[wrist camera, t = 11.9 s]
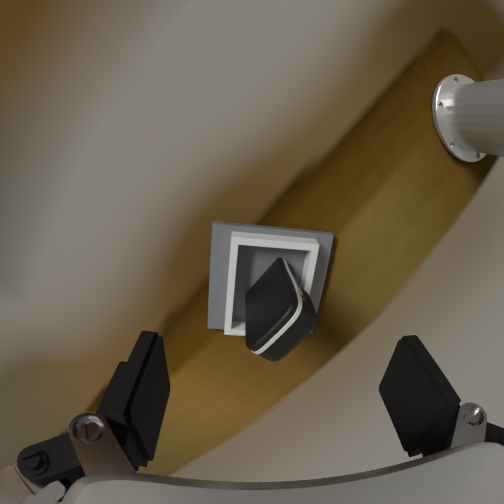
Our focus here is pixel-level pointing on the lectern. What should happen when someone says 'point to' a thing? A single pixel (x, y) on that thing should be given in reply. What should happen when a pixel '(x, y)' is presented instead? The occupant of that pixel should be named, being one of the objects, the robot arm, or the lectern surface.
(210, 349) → the lectern surface
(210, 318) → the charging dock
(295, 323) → the battery charger
